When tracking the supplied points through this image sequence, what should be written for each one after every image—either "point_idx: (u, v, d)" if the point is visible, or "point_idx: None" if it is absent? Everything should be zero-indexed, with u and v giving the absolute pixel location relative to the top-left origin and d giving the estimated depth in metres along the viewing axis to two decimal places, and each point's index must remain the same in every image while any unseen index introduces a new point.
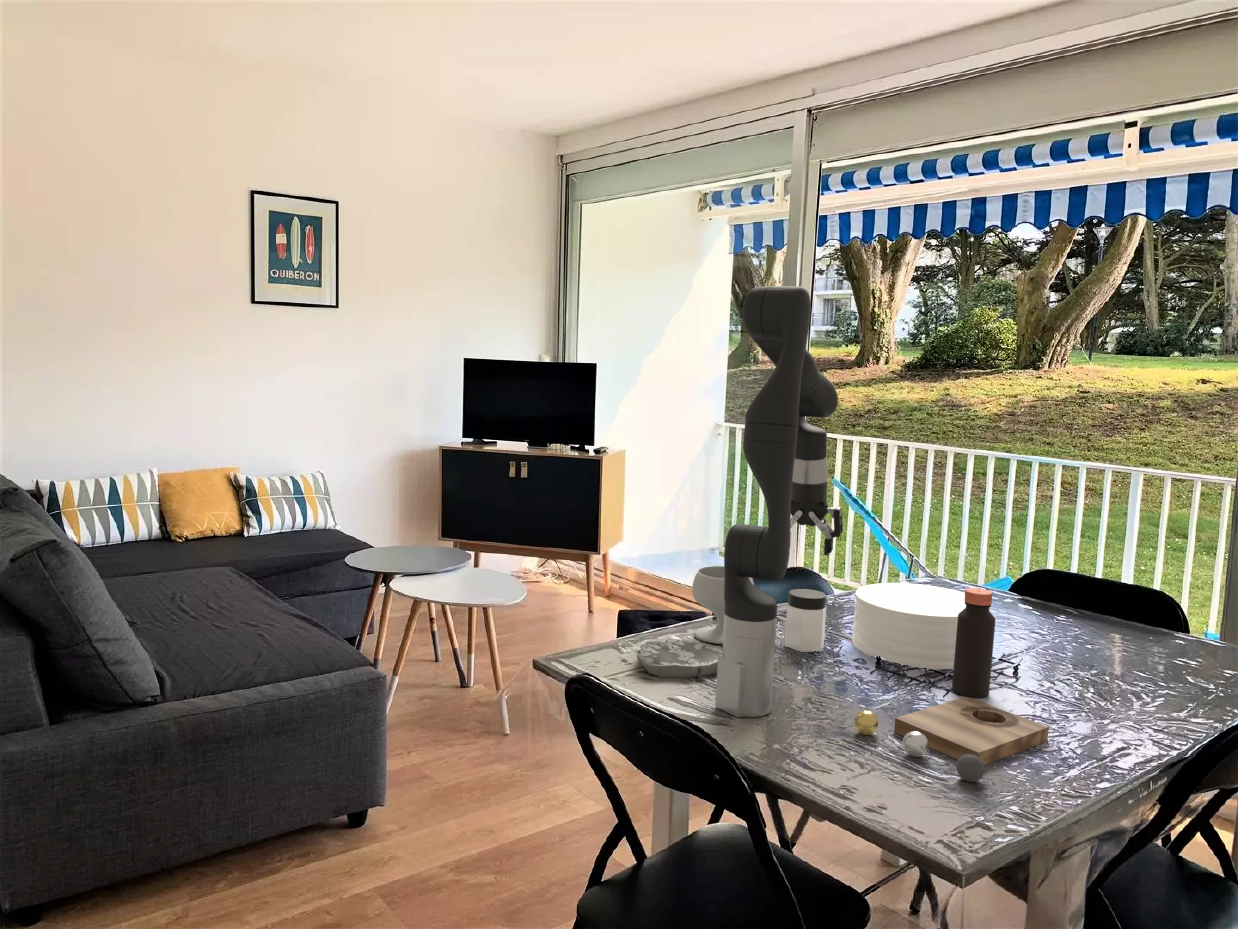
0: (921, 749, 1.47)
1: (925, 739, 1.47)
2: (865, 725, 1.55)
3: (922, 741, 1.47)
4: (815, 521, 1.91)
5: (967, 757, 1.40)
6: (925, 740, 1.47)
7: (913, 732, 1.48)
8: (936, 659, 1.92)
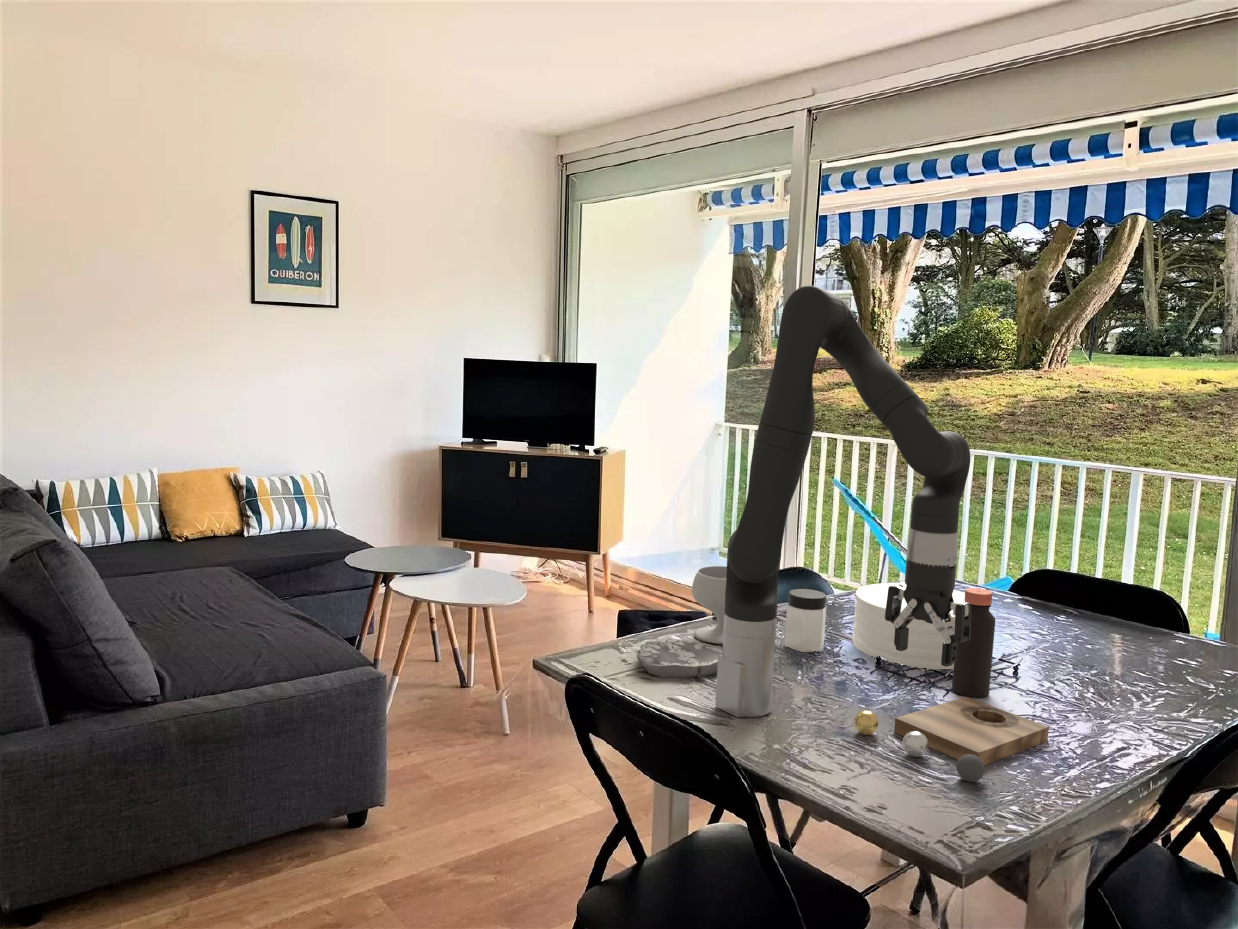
0: (921, 749, 1.47)
1: (925, 739, 1.47)
2: (865, 725, 1.55)
3: (922, 741, 1.47)
4: (932, 616, 1.44)
5: (967, 757, 1.40)
6: (925, 740, 1.47)
7: (913, 732, 1.48)
8: (936, 659, 1.92)
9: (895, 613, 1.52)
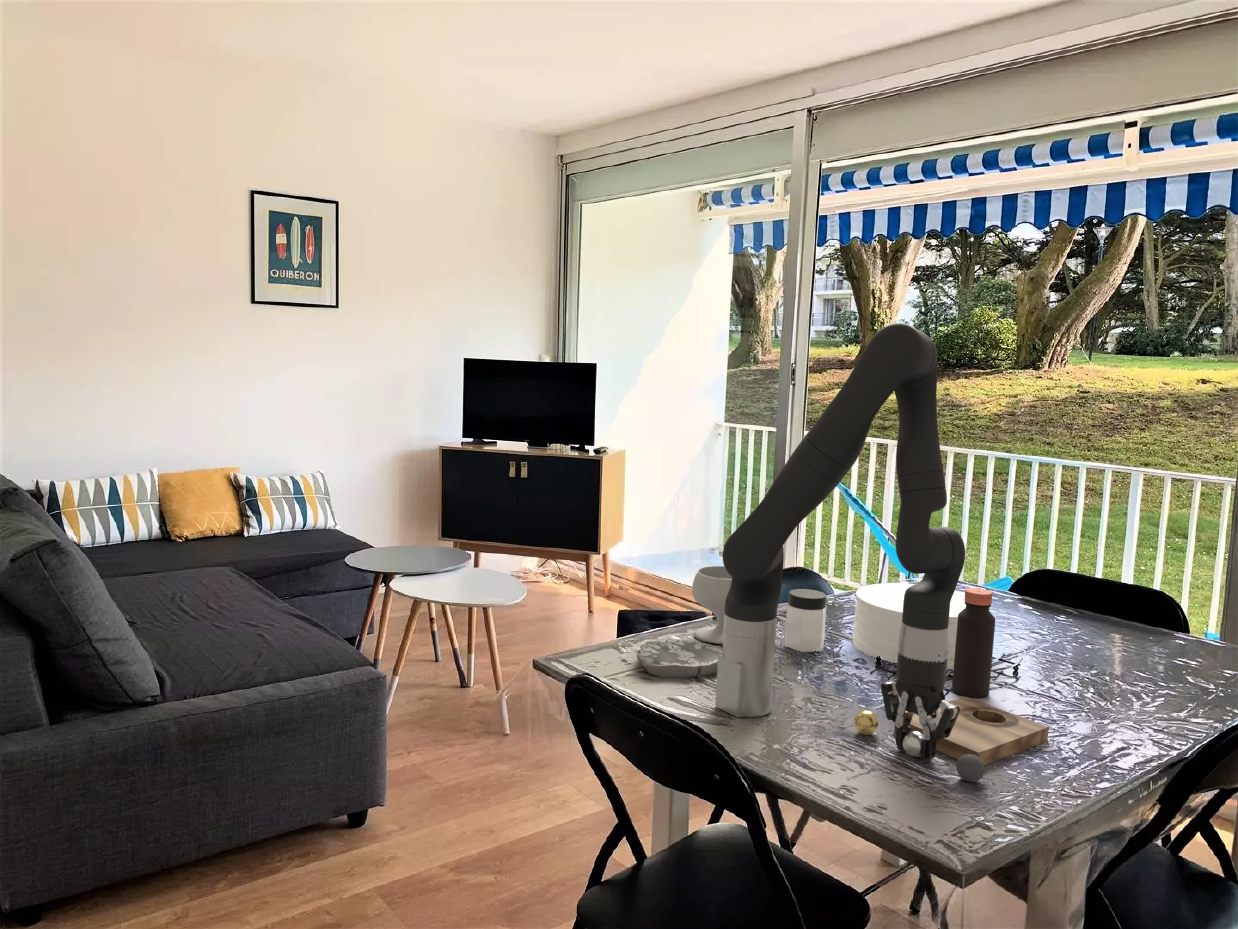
0: None
1: None
2: (865, 725, 1.55)
3: None
4: (919, 710, 1.46)
5: (967, 757, 1.40)
6: None
7: (913, 732, 1.48)
8: None
9: (897, 712, 1.52)
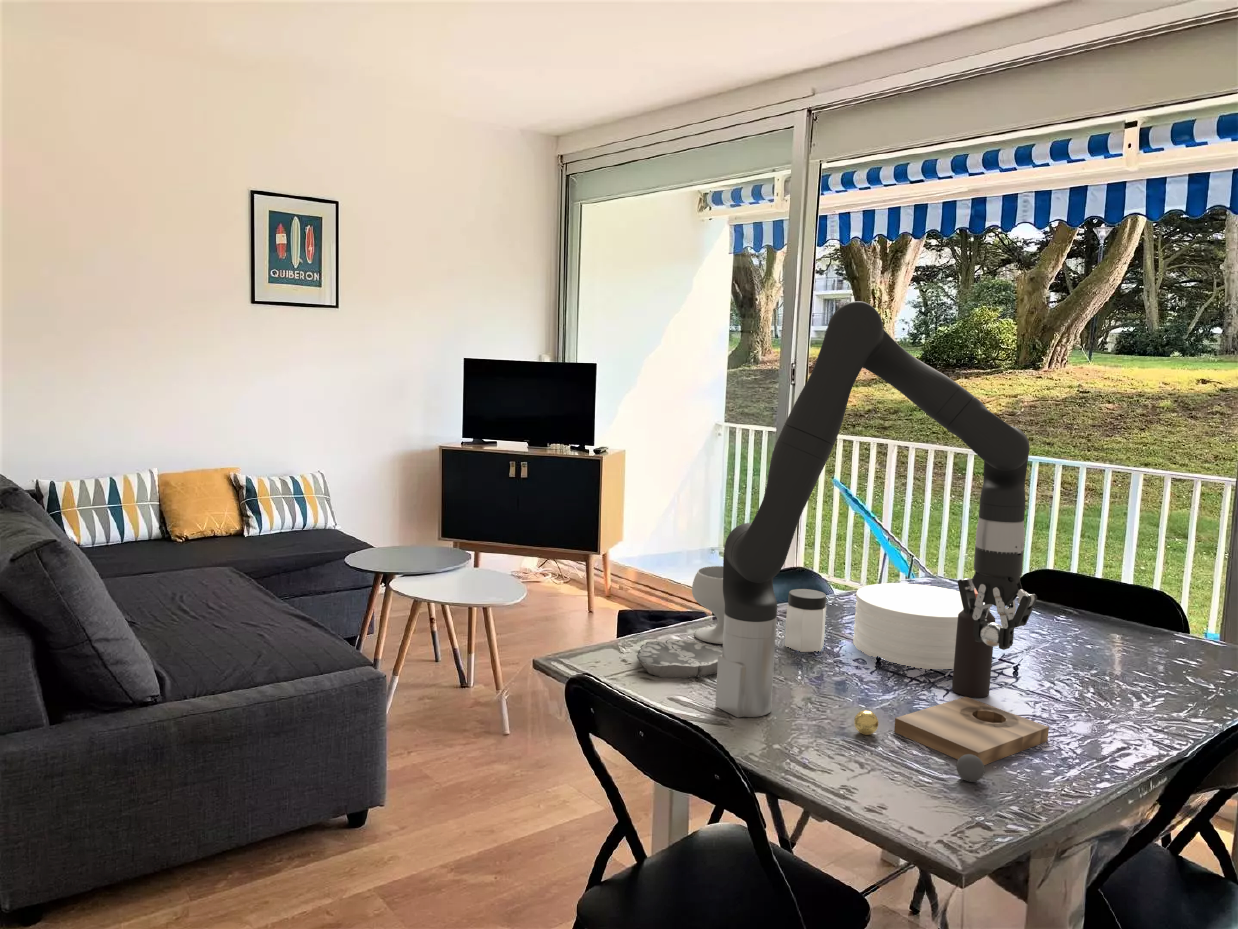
0: None
1: None
2: (865, 725, 1.55)
3: (999, 631, 1.55)
4: (997, 601, 1.54)
5: (967, 757, 1.40)
6: None
7: (990, 623, 1.56)
8: (937, 660, 1.92)
9: (974, 606, 1.60)
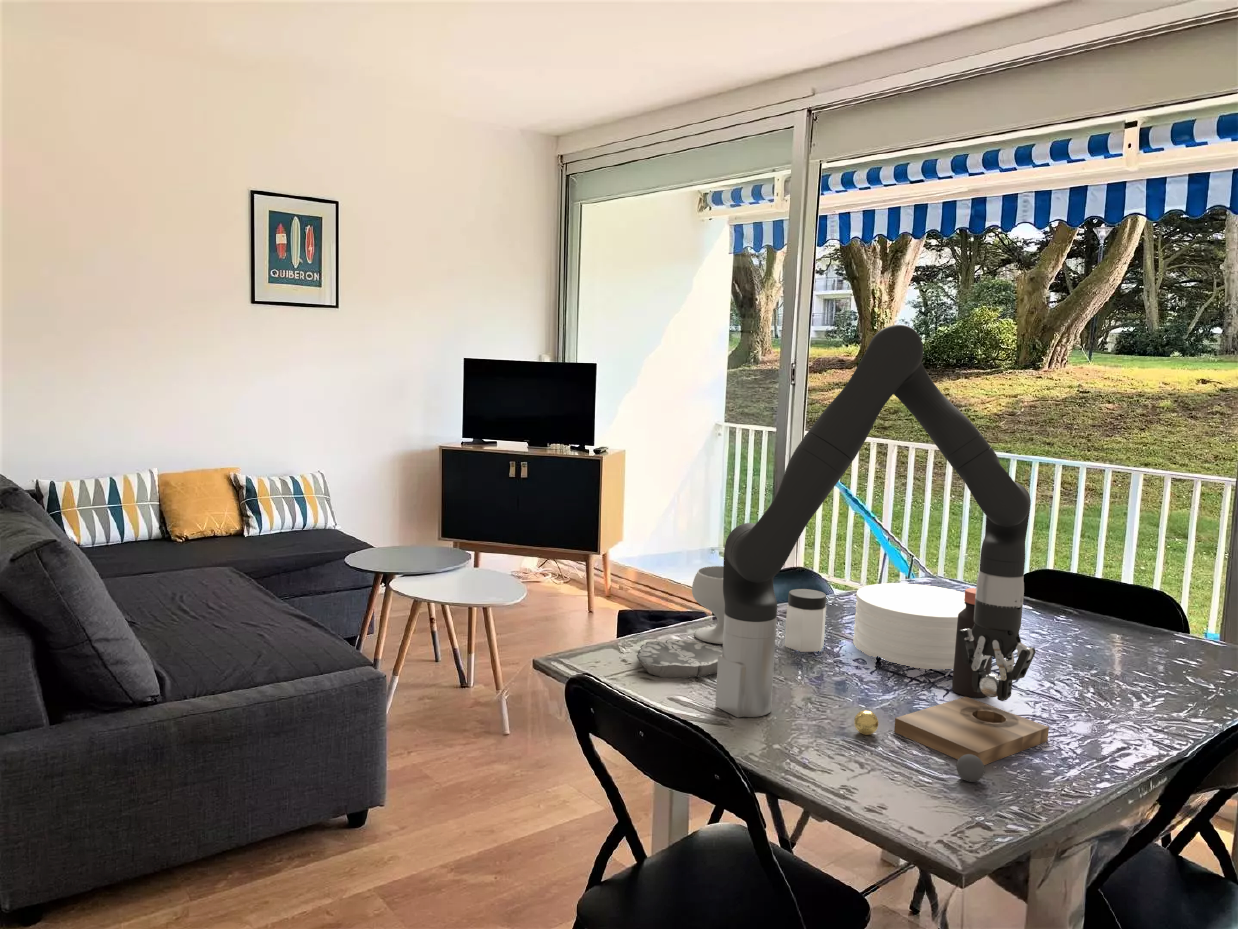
0: (997, 689, 1.57)
1: None
2: (865, 725, 1.55)
3: (998, 682, 1.58)
4: (996, 653, 1.56)
5: (967, 757, 1.40)
6: None
7: (989, 674, 1.59)
8: (937, 660, 1.92)
9: (973, 657, 1.62)
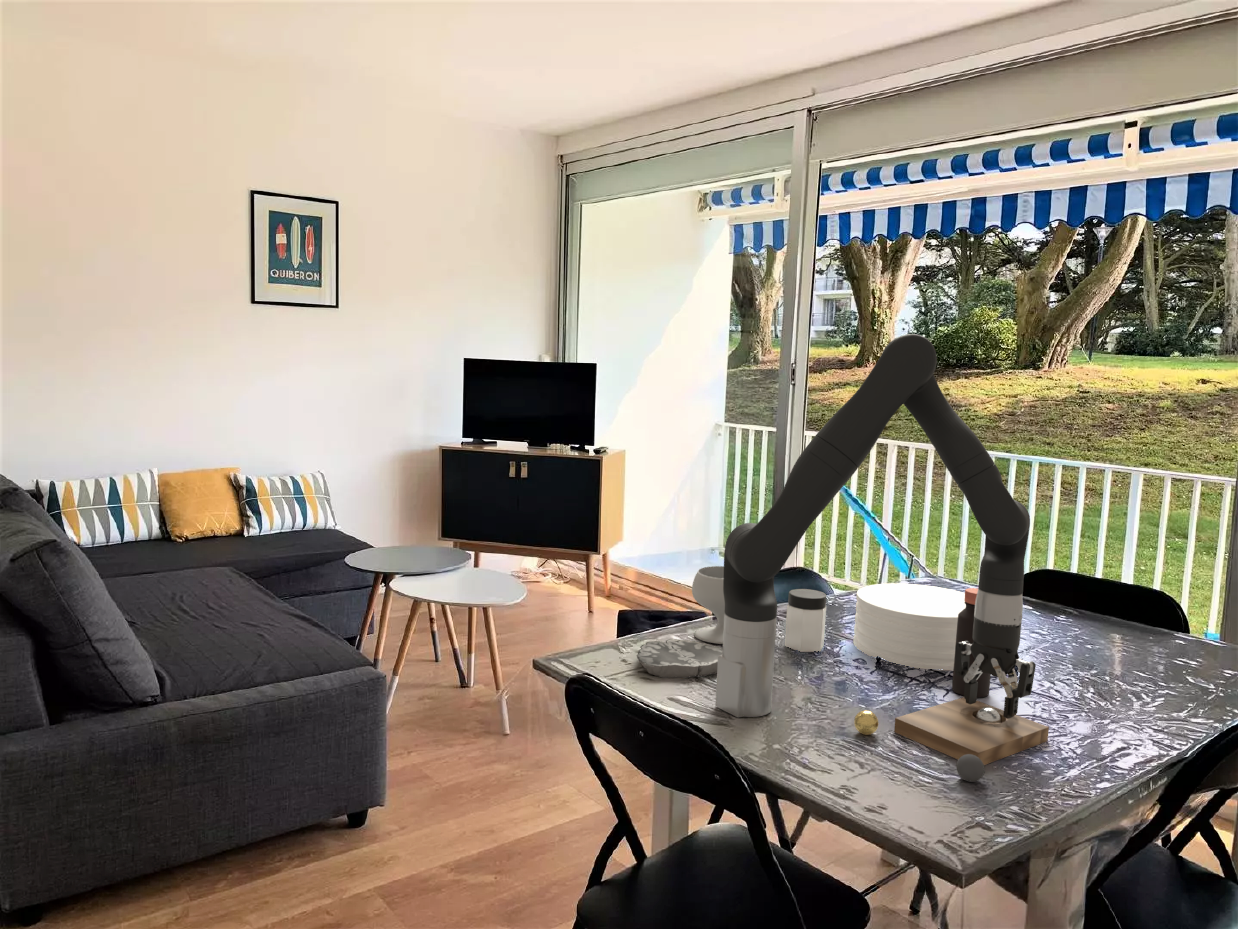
0: None
1: (998, 715, 1.59)
2: (865, 725, 1.55)
3: (995, 716, 1.58)
4: (997, 671, 1.56)
5: (967, 757, 1.40)
6: (998, 715, 1.59)
7: (986, 708, 1.60)
8: (937, 660, 1.92)
9: (965, 669, 1.64)
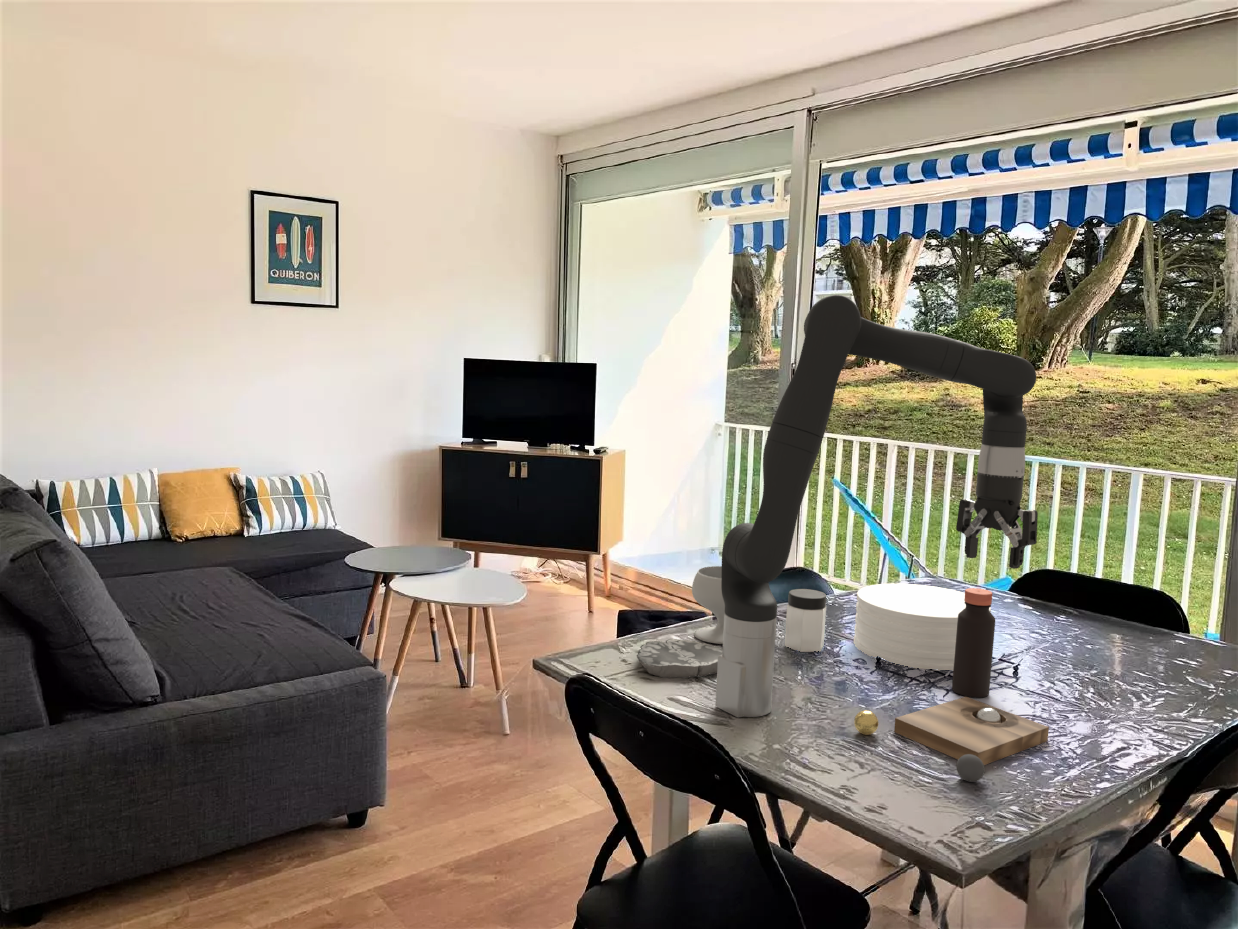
0: None
1: (998, 715, 1.59)
2: (865, 725, 1.55)
3: (995, 717, 1.58)
4: (1001, 523, 1.59)
5: (967, 757, 1.40)
6: (998, 716, 1.59)
7: (986, 708, 1.60)
8: (938, 660, 1.91)
9: (966, 525, 1.68)
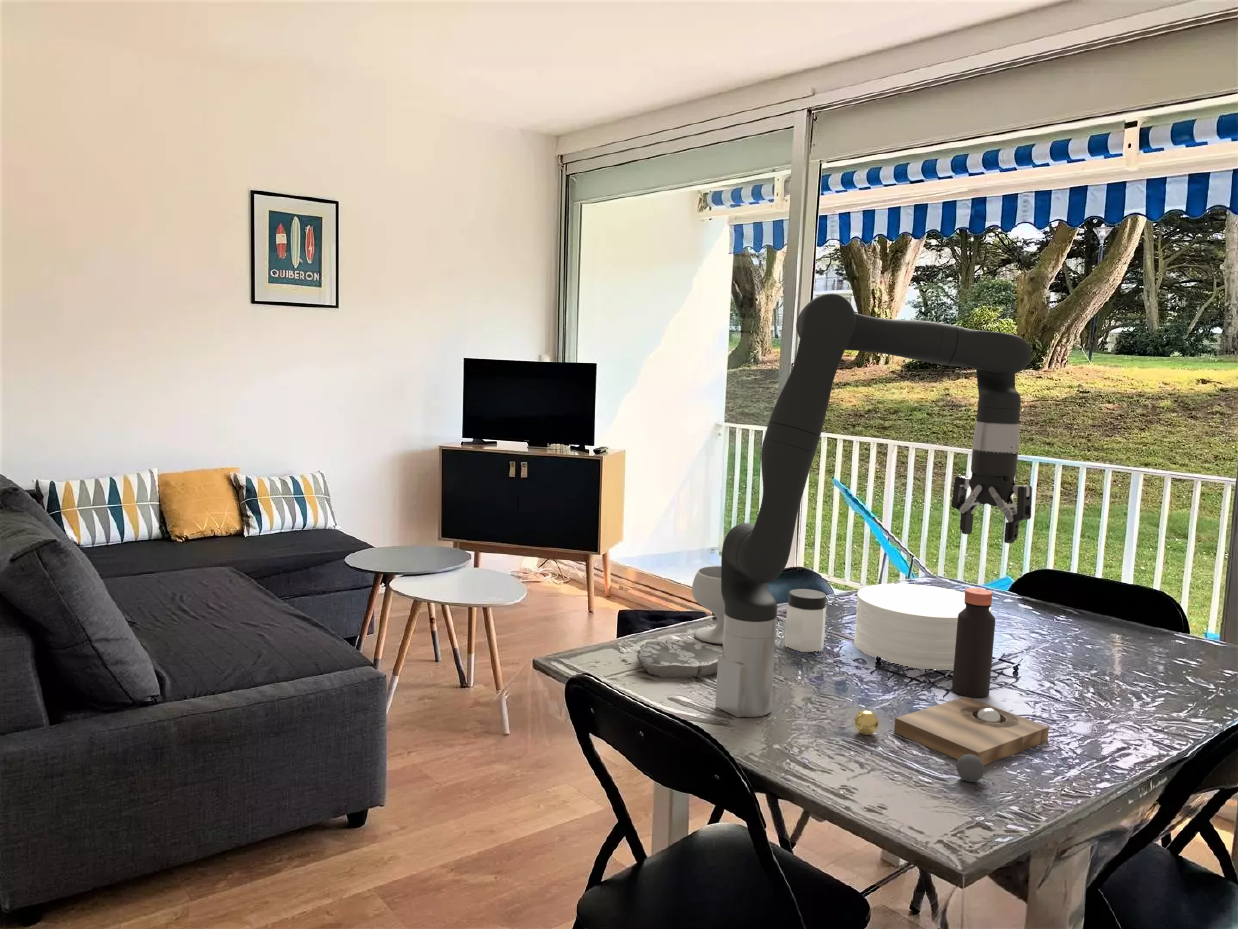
0: None
1: (998, 715, 1.59)
2: (865, 725, 1.55)
3: (995, 718, 1.58)
4: (996, 499, 1.62)
5: (967, 757, 1.40)
6: (998, 716, 1.59)
7: (987, 709, 1.60)
8: (938, 660, 1.91)
9: (961, 502, 1.70)
